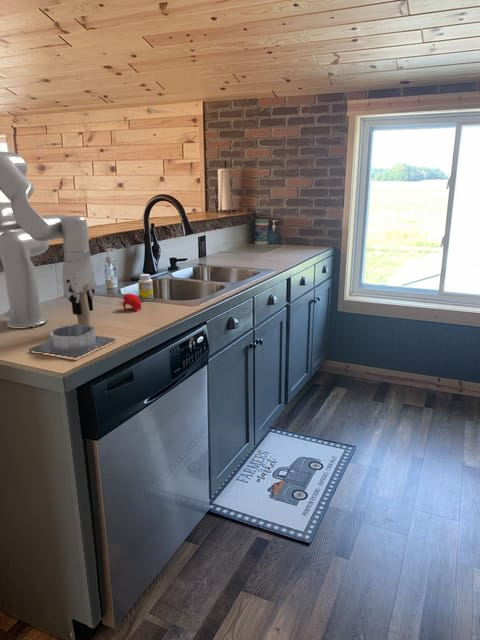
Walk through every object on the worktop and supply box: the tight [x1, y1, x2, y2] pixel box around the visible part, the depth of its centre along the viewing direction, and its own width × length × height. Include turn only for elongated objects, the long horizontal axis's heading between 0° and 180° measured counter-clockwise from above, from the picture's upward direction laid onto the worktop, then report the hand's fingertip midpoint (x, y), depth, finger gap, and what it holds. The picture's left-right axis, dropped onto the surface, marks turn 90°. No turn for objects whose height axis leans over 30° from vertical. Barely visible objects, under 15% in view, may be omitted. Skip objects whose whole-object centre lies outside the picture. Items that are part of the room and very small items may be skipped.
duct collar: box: [28, 323, 117, 358], centre depth 138 cm, size 17×17×5 cm
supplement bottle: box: [137, 273, 154, 302], centre depth 192 cm, size 6×6×10 cm
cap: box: [122, 293, 142, 312], centre depth 177 cm, size 8×6×6 cm
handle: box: [76, 284, 91, 325], centre depth 153 cm, size 5×6×15 cm
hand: (83, 311), depth 154 cm, fingers open, 4 cm apart
